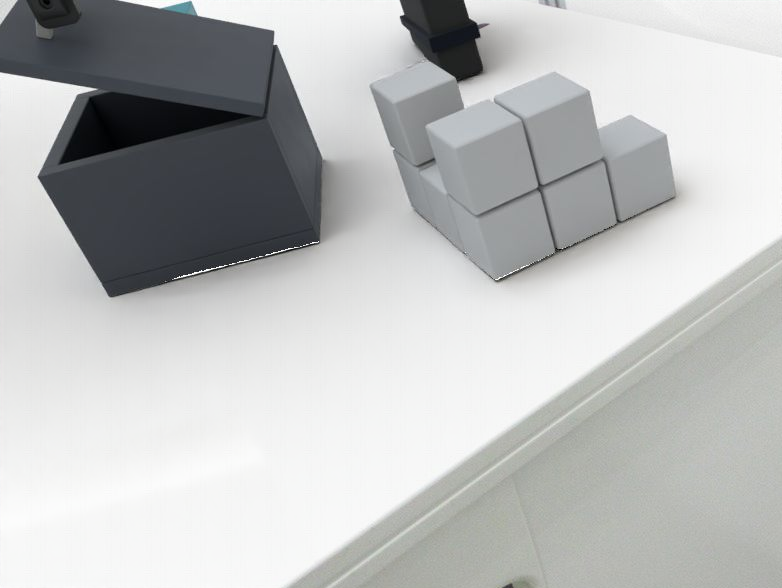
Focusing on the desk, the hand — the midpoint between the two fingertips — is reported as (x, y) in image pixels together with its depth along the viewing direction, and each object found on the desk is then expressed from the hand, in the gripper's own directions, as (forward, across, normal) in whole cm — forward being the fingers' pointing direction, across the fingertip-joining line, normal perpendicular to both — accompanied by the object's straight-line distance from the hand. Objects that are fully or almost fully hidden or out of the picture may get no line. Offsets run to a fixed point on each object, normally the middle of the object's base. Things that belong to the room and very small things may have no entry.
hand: (72, 5), depth 60 cm
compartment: (+14, 0, +3) cm, 15 cm away
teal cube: (+15, -32, -4) cm, 35 cm away
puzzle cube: (+14, +8, +23) cm, 28 cm away
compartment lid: (+3, 0, +2) cm, 4 cm away
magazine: (+14, -20, +18) cm, 31 cm away
